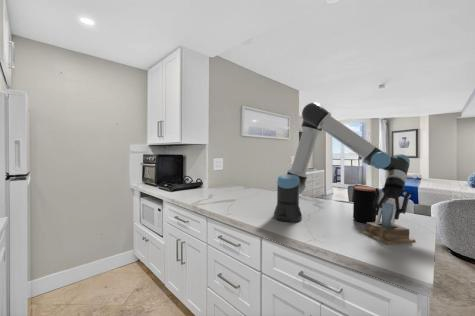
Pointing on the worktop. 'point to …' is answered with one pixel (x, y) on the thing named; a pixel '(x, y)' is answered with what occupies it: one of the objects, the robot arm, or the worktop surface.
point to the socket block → (387, 233)
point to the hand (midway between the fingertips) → (384, 223)
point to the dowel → (387, 215)
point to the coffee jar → (364, 204)
